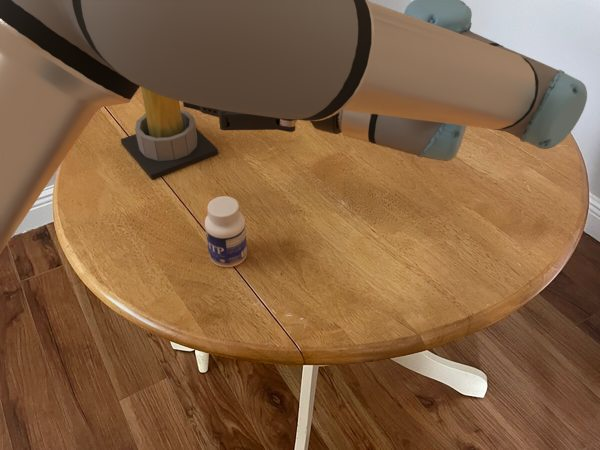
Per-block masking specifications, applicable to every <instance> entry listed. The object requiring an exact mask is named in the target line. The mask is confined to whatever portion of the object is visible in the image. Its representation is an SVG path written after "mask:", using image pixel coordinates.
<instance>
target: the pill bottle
mask: <svg viewBox="0 0 600 450" xmlns="http://www.w3.org/2000/svg"><path fill="white" fill-rule="evenodd" d="M206 208H207V215H206V217H205V219H204V231H205V237H206V244H207V251H208V257H209V260H210V261H211V262H212V263H213V264H214V265H216V266H218V267H221V268H233V267H235V266H238V265H240V264H242V263H243V262H244V261H245V259H246V258H247V256H248V245H247V244H248V242H247V230H246V229H247V228H246V220H245V219H246V218H245V217H244V215H243V214H242V212H241V211H240V205H239V202H238V200H236V198H234V197H231V196H228V195H223V196H222V195H221V196H217V197H214V198H213V199H211V200H210V201H209V202H208V204H207V207H206Z"/></svg>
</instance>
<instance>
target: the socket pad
mask: <svg viewBox="0 0 600 450" xmlns="http://www.w3.org/2000/svg"><path fill="white" fill-rule="evenodd" d="M180 110H181V115H182V120H183V124H184V129H185V131H183V132H182V133H180V134H178V135H175V136H172V137H165V138H155V137H151V136H149V130H148V124H147V118H146V113H144V114H143V115H142V116H140V117H139V118H138V119H137V120H136V122H135V127H134V132H135V133H134V134H131V135H129V136H126V137H123V138H121V139H120V143H121V145H122V146H123V147H124V149H125V150H126V151H127V152H128V153H129V154H130V156H131V157H132V158H133V159H134V160H135V162H136V163H137V164H138V165H139V167H141V169H142V170H143V171H144V172H145V173H146V175H147V176H148V177H149V178H150V179H151V180H152V181H153V180H156V179H158V178H161V177H163V176H166V175H167V174H171V173H173V172H177V171H178V170H181V169H184V168H186V167H189V166H191V165H194V164H197V163H199V162H201V161H204V160H206V159H210V158H212V157H214V156H217V155H218V154H219V149H218V147H217V146H215V145H214V144H213V143H212V142H211V141H210V140H209V139H208V138H207V137H206V136H205V135H204V134H203V133H202V132H201V131H200V130H199V129H197V127H196V119H195V117H194V116H193V115H192V114H191V113H190V112H188V111H187V110H183V109H180Z"/></svg>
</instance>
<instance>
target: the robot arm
mask: <svg viewBox="0 0 600 450" xmlns="http://www.w3.org/2000/svg"><path fill="white" fill-rule="evenodd" d="M472 15H473V13H472V9H471V7H470V6H469V5H467V4H466V3H465V1H463V0H412V1H411V2H409V4H407V6H406V7H405V9H404V13H403V12H400V11H397V10H394V9H392V8H389V7H386V6H383V5H380V4H377V3H375V2H372V1H369V0H0V255H1V254H2V252H3V251H4V250H5V248H6V246H7V245H8V243H9V242H10V241H11V239H12V238H13V236H14V235H15V233H16V231H17V230H18V229H19V227H20V226H21V224H22V222H23V221H24V219H25V218H26V217H27V215H28V214H29V212H30V211H31V209H32V208H33V206H34V204H35V203H36V202H37V200H38V199H39V197H40V196H41V195H42V193H43V191H44V190H45V188H46V187H47V185H48V184H49V182H50V181H51V180H52V178H53V176H54V175H55V174H56V172H57V170H58V169H59V167H60V166H61V165H62V163H63V161H64V160H65V159H66V157H67V156H68V154H69V153H70V151H71V150H72V148H73V147H74V145H75V144H76V142H77V141H78V140H79V138H80V136H82V134H83V132H84V130H86V128H87V126H88V125H89V123H90V122H91V120H92V119H93V118H94V116H95V114H96V113H97V112H98V111H100V109H102V108H105V107H111V106H112V107H113V106H118V105H124V104H129V103H130V102H131V100H132V99H133V97H134V96H135V94H136V93H137V92H138V90H139V89H140V88H141V87H143V88H145V89H147V90H149V91H152V92H154V93H156V94H158V95H161V96H165V97H168V98H171V99H175V100H178V101H179V102H182V104H183V107H185V108H187V109H190V110H195V111H199V112H200V113H201V114H204V115H209V116H212V117H216V118H218V122H219V129H220V130H221V131H276V130H277V131H282V132H287V133H293V132H295V131H296V123H297V122H298V121H306V122H310V123H311V125H312V127H313V128H314V129H315V130H318V131H321V132H326V133H329V134H333V135H339V134H342V135H343V137H347V138H351V139H355V140H359V141H362V142H366V143H370V144H373V145H377V146H380V147H385V148H387V149H392V150H394V151H395V150H396V151H399V152H403V153H406V154H410V155H413V156H416V157H418V158H425V159H429V160H434V161H443V162H449V161H452V160H453V159H454V158H455V157H456V156H457V155H458V153H459V150H460V148H461V145H462V143H463V139H464V136H465V132H466V129H467V127H471V128H480V129H486V130H493V131H494V130H495V131H498V132H499V131H500V132H506V133H508V134H510V135H512V136H514V137H515V138H518V139H519V141H520V142H522V143H527V144H529V145H531V146H533V147H536V148H538V149H541V150H548V149H552V148H554V147H556V146H557V145H559V144H561V143H562V142H564V140H565V139H566V138H567V137H568V136H569V135H570V133H571V132H572V131H573V130H574V128H575V126H576V125H577V123H578V122H579V121H580V118H581V117H582V114H583V113H584V111H585V108H586V104H587V101H588V91H587V86H586V84H585V83H584V82H583V81H581V80H579V79H577V78H576V77H574V76H571V75H570V74H567V73H566V72H565V71H564V70H562V69H556V68H554V67H552V66H549V65H547V64H545V63H543V62H541V61H538V60H536V59H534V58H532V57H529V56H527V55H524V54H522V53H520V52H517V51H515V50H512V49H510V48H507V47H505V46H504V45H502V44H500V43H497V42H495V41H493V40H492V39H488V38H487V37H484V36H482V35H480V34H478V33H475V32H473V31H471V28H472V24H473V23H472Z"/></svg>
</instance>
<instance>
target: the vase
mask: <svg viewBox="0 0 600 450" xmlns="http://www.w3.org/2000/svg"><path fill="white" fill-rule="evenodd" d="M140 88H141V93H142V94H141V95H142V99H143V106H144V112H145V114H146V118H147V124H148V130H149V136H151V137H155V138H165V137H172V136H175V135H178V134H180V133H182V132H183V131H185V129H184V124H183V120H182V115H181V110H182V109H181V106H180V105H181V104H180V101H178V100H175V99H171V98H168V97H165V96H161V95H158V94H156V93H154V92H152V91H149V90H147V89H145V88H143V87H141V86H140Z"/></svg>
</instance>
